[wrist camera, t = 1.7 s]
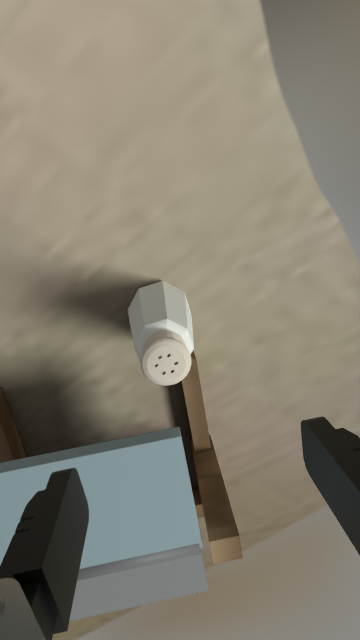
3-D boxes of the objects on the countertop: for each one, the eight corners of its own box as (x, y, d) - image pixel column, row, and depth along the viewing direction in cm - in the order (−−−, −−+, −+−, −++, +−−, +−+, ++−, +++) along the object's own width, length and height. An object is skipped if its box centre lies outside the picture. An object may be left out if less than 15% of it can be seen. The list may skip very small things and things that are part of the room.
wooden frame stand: (36, 535, 35) (-13, 673, 24) (-20, 391, 30) (-111, 485, 19) (220, 496, 35) (251, 613, 25) (195, 349, 30) (221, 418, 20)
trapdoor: (42, 547, 30) (13, 636, 24) (-7, 421, 26) (-56, 486, 20) (198, 514, 31) (211, 592, 24) (173, 385, 27) (181, 438, 20)
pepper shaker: (114, 308, 29) (94, 359, 18) (163, 267, 28) (173, 295, 18) (155, 353, 30) (159, 425, 20) (203, 315, 30) (234, 368, 19)
